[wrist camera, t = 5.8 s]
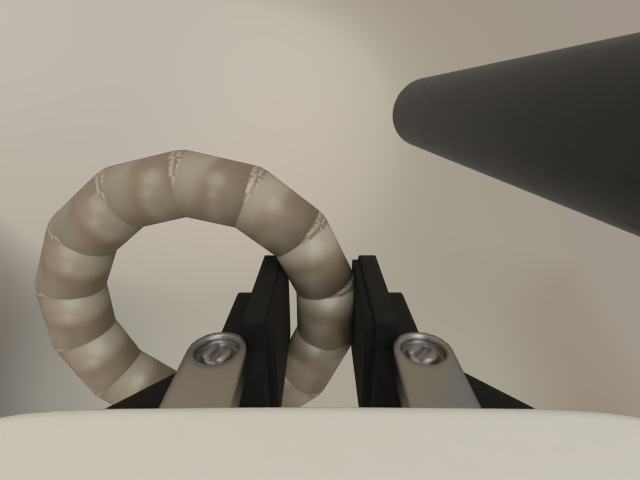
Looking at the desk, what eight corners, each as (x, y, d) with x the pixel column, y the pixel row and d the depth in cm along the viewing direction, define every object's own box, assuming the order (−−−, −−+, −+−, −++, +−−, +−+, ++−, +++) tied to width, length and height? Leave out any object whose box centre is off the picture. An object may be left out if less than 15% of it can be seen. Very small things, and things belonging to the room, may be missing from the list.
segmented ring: (357, 146, 11) (364, 154, 9) (347, 405, 14) (351, 447, 12) (27, 146, 11) (-30, 154, 9) (99, 405, 14) (70, 447, 12)
